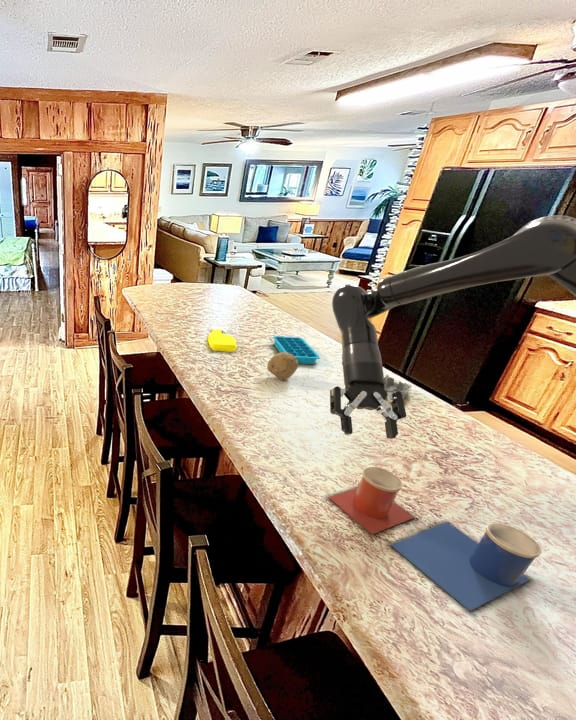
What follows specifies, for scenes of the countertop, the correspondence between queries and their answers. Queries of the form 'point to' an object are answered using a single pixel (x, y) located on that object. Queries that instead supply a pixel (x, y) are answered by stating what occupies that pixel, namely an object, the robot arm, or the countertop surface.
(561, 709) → the countertop surface
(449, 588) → the blue mat
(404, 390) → the egg carton
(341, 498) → the rust mat
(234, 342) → the yellow lump
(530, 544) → the blue crock
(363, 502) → the red tapered cylinder
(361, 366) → the robot arm
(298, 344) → the ice cube tray
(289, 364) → the natural sponge
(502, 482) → the countertop surface
